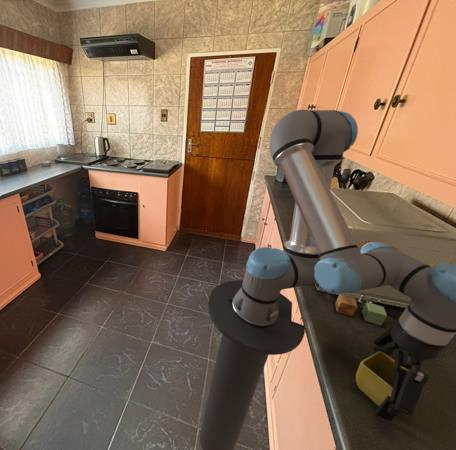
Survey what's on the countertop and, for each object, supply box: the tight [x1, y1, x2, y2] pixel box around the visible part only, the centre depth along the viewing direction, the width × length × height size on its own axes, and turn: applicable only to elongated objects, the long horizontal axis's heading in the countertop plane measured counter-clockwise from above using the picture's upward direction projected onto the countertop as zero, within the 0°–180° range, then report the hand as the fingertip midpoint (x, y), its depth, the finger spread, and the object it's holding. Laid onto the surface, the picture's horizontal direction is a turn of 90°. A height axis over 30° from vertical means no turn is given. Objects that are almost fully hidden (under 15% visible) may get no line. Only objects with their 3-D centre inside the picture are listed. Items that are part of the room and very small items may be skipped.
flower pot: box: [355, 351, 408, 407], centre depth 60 cm, size 9×9×9 cm
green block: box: [361, 301, 388, 326], centre depth 83 cm, size 4×4×4 cm
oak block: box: [334, 293, 358, 317], centre depth 86 cm, size 4×4×4 cm
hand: (376, 392), depth 62 cm, fingers closed on flower pot, 11 cm apart
